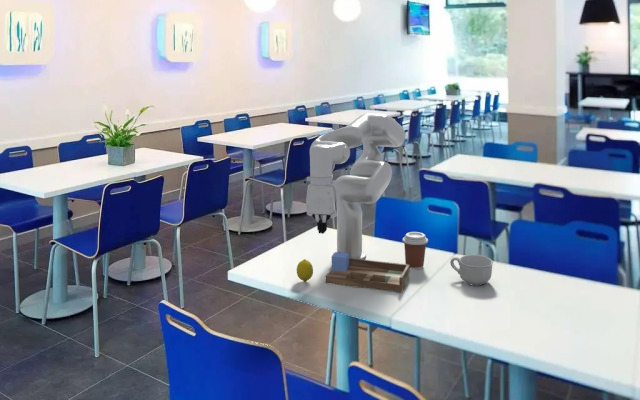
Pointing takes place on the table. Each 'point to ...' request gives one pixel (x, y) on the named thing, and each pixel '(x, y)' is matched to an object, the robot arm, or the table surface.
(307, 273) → the lemon
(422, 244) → the coffee cup
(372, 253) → the table surface
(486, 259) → the teacup
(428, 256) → the table surface
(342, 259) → the blue block
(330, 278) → the wooden rimmed tray
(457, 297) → the table surface
